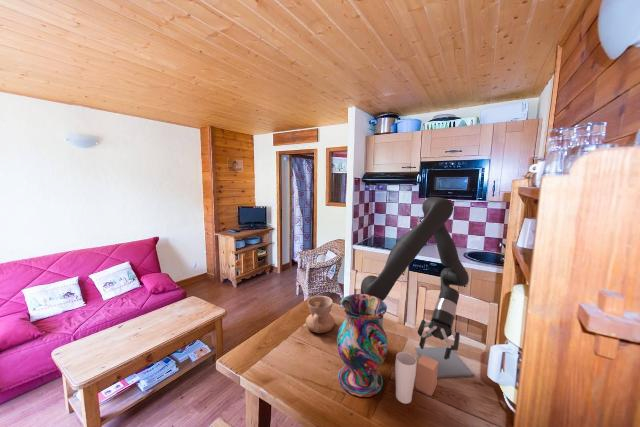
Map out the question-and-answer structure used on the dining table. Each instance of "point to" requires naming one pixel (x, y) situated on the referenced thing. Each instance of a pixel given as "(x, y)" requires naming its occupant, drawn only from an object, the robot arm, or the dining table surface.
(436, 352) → the charcoal mat
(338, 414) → the dining table surface
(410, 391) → the drinking glass
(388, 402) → the dining table surface
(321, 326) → the ceramic jug
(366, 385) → the vase
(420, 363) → the brick block
